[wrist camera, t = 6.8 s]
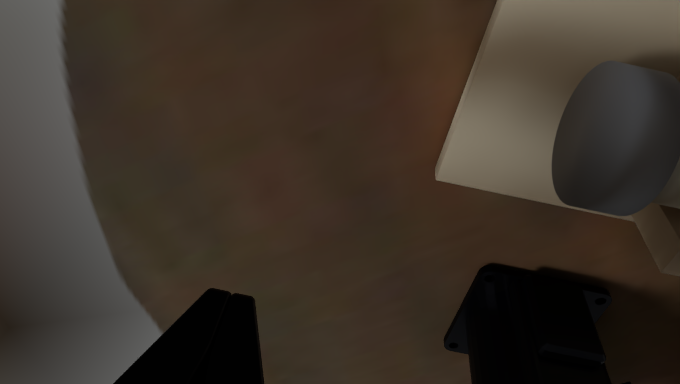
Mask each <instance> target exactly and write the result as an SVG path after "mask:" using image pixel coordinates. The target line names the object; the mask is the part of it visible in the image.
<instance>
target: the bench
mask: <svg viewBox="0 0 680 384" xmlns="http://www.w3.org/2000/svg"><path fill="white" fill-rule="evenodd" d="M606 61H617V62H621V63H626V64H630V65H635V66H639V67H644V68H648V69H653V70H657V71H662V72H667V73H669V74H671V75H673V76H674V77H675V78H676V79H677V80H678V81H679V82H680V0H497V2H496V5H495V8H494V10H493V13H492V16H491V19H490V21H489V24H488V27H487V29H486V32H485V35H484V37H483V40H482V43H481V46H480V48H479V51H478V54H477V56H476V59H475V62H474V65H473V67H472V70H471V73H470V75H469V78H468V81H467V83H466V86H465V89H464V92H463V94H462V97H461V100H460V102H459V105H458V108H457V111H456V113H455V116H454V119H453V121H452V124H451V127H450V129H449V132H448V135H447V138H446V140H445V143H444V146H443V148H442V151H441V154H440V157H439V159H438V162H437V165H436V167H435V175H436V180H438V181H443V182H448V183H453V184H457V185H462V186H467V187H472V188H476V189H481V190H486V191H491V192H496V193H500V194H505V195H510V196H515V197H519V198H524V199H529V200H534V201H538V202H543V203H548V204H553V205H557V206H562V207H567V208H572V209H576V210H581V211H586V212H591V213H595V214H600V215H605V216H610V217H614V218H619V219H624V220H629V221H633V222H635V223H636V225H637V227H638V229H639V231H640V233H641V235H642V237H643V239H644V241H645V243H646V245H647V247H648V249H649V250H650V252H651V254H652V256H653V258H654V260H655V262H656V264H657V266H658V268H659V270H660V272H661V273H666V274H671V275H675V276H680V209H678V208H674V207H669V206H664V205H660V204H655V203H650V204H649V205H647V206H646V207H645V208H644V209H642V210H640V211H639V212H637V213H634V214H632V215H628V216H616V215H612V214H607V213H602V212H597V211H593V210H588V209H583V208H578V207H574V206H569V205H566V204H564V203H563V202H562V201H561V200H560V199H559V197H558V196H557V194H556V192H555V189H554V185H553V180H552V153H553V146H554V141H555V136H556V132H557V129H558V126H559V122H560V120H561V117H562V114H563V112H564V109H565V107H566V105H567V103H568V101H569V99H570V97H571V95H572V94H573V92H574V90H575V89H576V87H577V86H578V84H579V83H580V82H581V80H582V79H583V78H584V77H585V76H586V74H587V73H588V72H589V71H591V70H592V69H593V68H594V67H595V66H597V65H599V64H600V63H602V62H606Z"/></svg>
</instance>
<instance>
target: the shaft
mask: <svg viewBox="0 0 680 384" xmlns="http://www.w3.org/2000/svg"><path fill="white" fill-rule="evenodd" d="M552 180H553V185H554V189H555V192H556V194H557V196H558V197H559V199H560V200H561V201H562V202H563V203H564V204H566V205H569V206H574V207H578V208H583V209H588V210H593V211H597V212H602V213H607V214H612V215H616V216H628V215H632V214H634V213H637V212H639V211H640V210H642V209H644V208H645V207H646V206H647V205H649V204H650V203H655V204H660V205H664V206H669V207H674V208H678V209H680V82H679V81H678V80H677V79H676V78H675V77H674V76H673V75H671V74H669V73H667V72H662V71H657V70H653V69H648V68H644V67H639V66H635V65H630V64H626V63H621V62H617V61H606V62H602V63H600V64H599V65H597V66H595V67H594V68H593V69H592V70H591V71H589V72H588V73H587V74H586V76H585V77H584V78H583V79H582V80H581V82H580V83H579V84H578V86H577V87H576V89H575V90H574V92H573V94H572V95H571V97H570V99H569V101H568V103H567V105H566V107H565V109H564V112H563V114H562V117H561V120H560V122H559V126H558V129H557V132H556V136H555V141H554V146H553V153H552Z"/></svg>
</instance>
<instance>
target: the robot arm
mask: <svg viewBox="0 0 680 384" xmlns="http://www.w3.org/2000/svg"><path fill="white" fill-rule="evenodd" d="M487 275H492V276H487ZM611 302H612V299H611V296H610V293H609V291H608V290H606V289H604V288H599V287H594V286H590V285H585V284H580V283H575V282H570V281H565V280H560V279H555V278H551V277H546V276H541V275H536V274H531V273H526V272H521V271H517V270H512V269H507V268H502V267H497V266H492V265H487V266H484V267H482V268H480V270H479V271H478V273H477V275H476V277H475V279H474V281H473V283H472V285H471V287H470V288H469V290H468V292H467V294H466V296H465V298H464V300H463V302H462V304H461V306H460V308H459V310H458V312H457V314H456V316H455V318H454V320H453V321H452V323H451V325H450V327H449V329H448V331H447V333H446V335H445V337H444V347H445V348H446V349H447V350H450V351H454V352H459V353H464V354H469V363H470V372H471V382H472V384H611V381H610V378H609V375H608V372H607V369H606V366H605V363H604V362H605V360H606V356H605V353H604V350H603V347H602V344H601V342H600V339H599V336H598V333H597V330H596V327H595V322H596V321H597V320H598V319H599V317H600V316H601V315H602V314H603V312H604V311H605V310H606V309H607V307H608V306H609V305H610V304H611ZM113 384H264V377H263V368H262V359H261V351H260V342H259V333H258V324H257V315H256V306H255V300H254V298H253V297H252V296H248V295H243V294H239V293H234V294H232V296H231V293H230V292H228V291H225V290H220V289H215V288H210V289H208V290H207V291H206V292H205V293H204V294H203V295H202V296H201V297H200V298H199V299H198V300H197V301H196V302H195V303H194V304H193V305H192V306H191V307H190V308H189V309H188V310H187V311H186V312H185V313H184V314H183V315H182V316H181V317H180V318H179V319H178V320H177V321H176V322H175V323H174V324H172V325H171V326H170V327H169V328H168V329H167V330H166V331H165V332H164V333H163V334H162V335H161V336H160V337H159V339H158V340H157V341H156V342H154V343H153V344H152V345H151V347H149V348H148V350H146V352H144V354H143V355H141V356H140V357H139V359H137V361H135V363H133V364H132V365H131V366H130V367H129V368H128V370H126V371H125V372H124V373H123V375H121V376H120V377H119V378H118V379H117V380H116V381H115V383H113ZM622 384H631V382H626V383H622Z"/></svg>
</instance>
